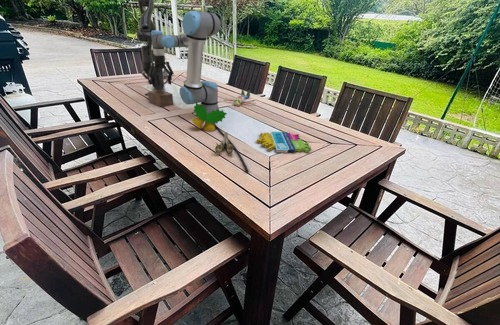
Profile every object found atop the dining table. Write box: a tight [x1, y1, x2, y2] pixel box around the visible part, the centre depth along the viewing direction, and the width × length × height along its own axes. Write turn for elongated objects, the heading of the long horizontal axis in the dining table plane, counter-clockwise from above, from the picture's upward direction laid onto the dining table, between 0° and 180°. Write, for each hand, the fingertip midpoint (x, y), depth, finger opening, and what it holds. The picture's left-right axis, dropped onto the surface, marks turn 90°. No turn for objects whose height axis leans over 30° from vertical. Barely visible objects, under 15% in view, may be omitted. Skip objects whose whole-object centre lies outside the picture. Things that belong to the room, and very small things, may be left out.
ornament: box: [191, 102, 228, 132], centre depth 162 cm, size 21×8×15 cm, turn 105°
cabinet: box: [147, 89, 174, 108], centre depth 201 cm, size 16×10×8 cm, turn 50°
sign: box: [256, 131, 312, 154], centre depth 152 cm, size 26×2×30 cm
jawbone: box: [214, 131, 234, 156], centre depth 136 cm, size 9×15×10 cm
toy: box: [223, 89, 257, 106], centre depth 219 cm, size 28×7×30 cm
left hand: (150, 84), depth 204 cm, fingers closed
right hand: (162, 85), depth 195 cm, fingers open, 13 cm apart
